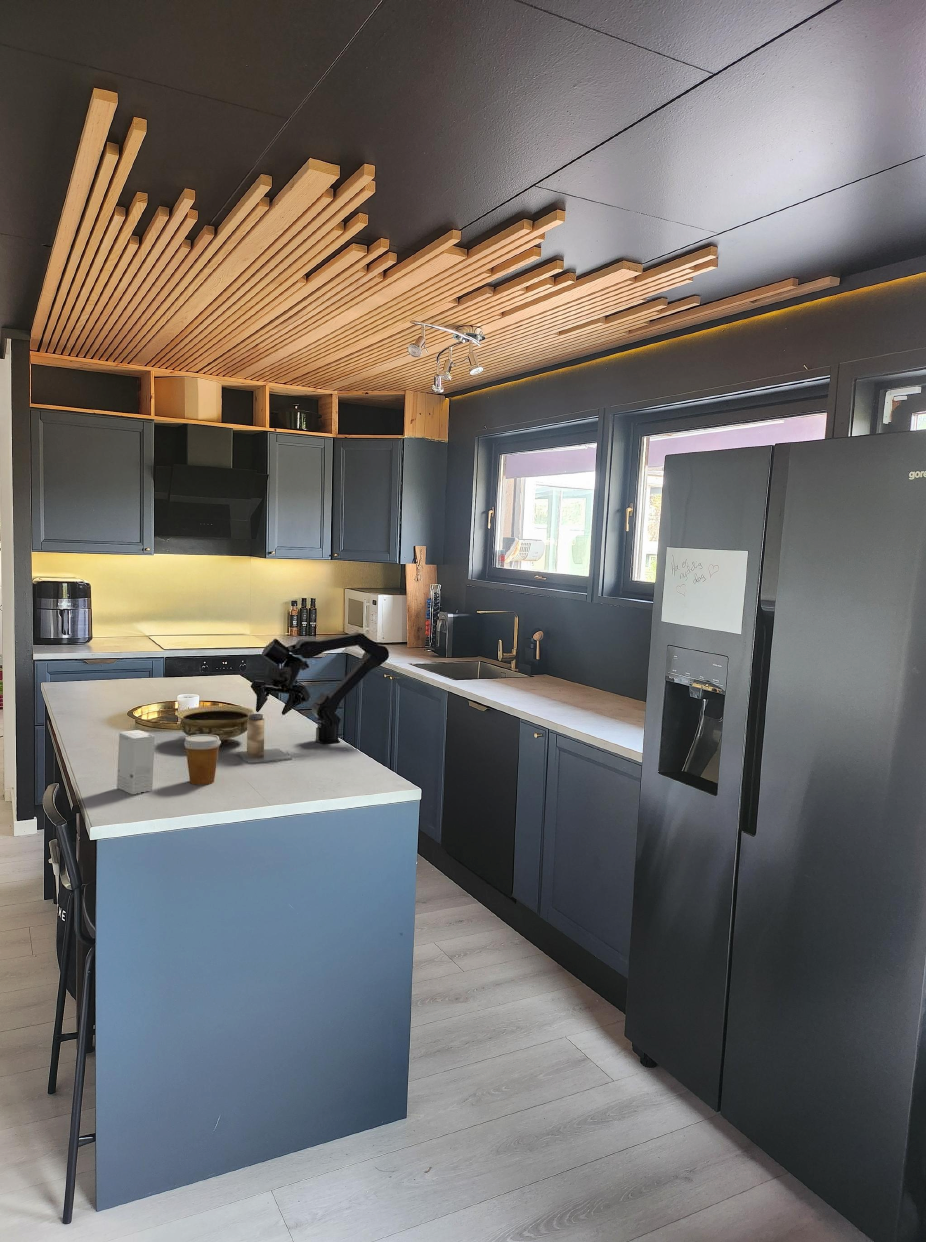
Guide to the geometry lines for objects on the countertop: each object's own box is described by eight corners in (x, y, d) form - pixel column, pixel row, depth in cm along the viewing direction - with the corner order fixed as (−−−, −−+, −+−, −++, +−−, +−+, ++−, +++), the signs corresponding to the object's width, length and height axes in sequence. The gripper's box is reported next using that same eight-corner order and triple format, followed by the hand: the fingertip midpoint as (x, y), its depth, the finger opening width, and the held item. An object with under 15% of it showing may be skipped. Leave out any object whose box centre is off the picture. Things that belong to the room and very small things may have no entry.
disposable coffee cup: (227, 779, 228) (228, 736, 227) (206, 788, 219) (206, 743, 218) (198, 775, 231) (198, 732, 230) (175, 783, 222) (176, 739, 221)
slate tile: (278, 750, 263) (278, 748, 263) (291, 759, 252) (291, 757, 252) (237, 753, 256) (237, 751, 256) (248, 763, 245) (248, 761, 245)
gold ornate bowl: (163, 737, 274) (163, 707, 273) (234, 730, 288) (234, 701, 288) (194, 757, 250) (194, 724, 249) (269, 748, 264) (270, 717, 263)
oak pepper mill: (262, 753, 255) (263, 713, 254) (264, 757, 251) (265, 716, 250) (245, 754, 254) (246, 713, 253) (247, 758, 249) (248, 716, 248)
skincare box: (116, 788, 216) (116, 731, 215) (138, 784, 221) (138, 728, 220) (132, 795, 211) (133, 737, 210) (155, 790, 216) (155, 734, 214)
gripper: (254, 654, 265) (233, 694, 255) (306, 659, 258) (286, 700, 249) (267, 676, 273) (247, 715, 263) (318, 681, 267) (299, 721, 257)
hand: (269, 712), depth 258 cm, fingers open, 9 cm apart
